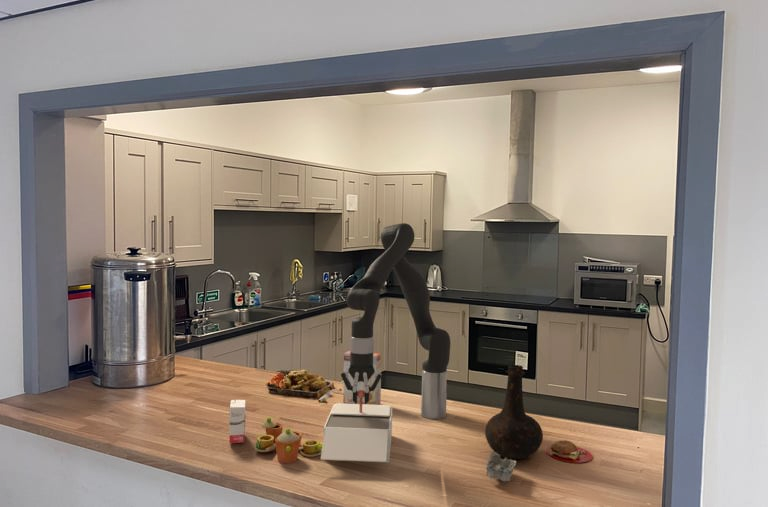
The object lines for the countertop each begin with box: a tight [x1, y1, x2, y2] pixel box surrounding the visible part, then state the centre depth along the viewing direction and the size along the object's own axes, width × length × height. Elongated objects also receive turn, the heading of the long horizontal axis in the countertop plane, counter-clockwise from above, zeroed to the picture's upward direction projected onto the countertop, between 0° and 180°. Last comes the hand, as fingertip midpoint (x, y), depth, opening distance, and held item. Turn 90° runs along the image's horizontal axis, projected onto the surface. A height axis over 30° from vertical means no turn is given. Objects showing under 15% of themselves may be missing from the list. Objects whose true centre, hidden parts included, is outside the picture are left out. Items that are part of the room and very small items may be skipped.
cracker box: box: [342, 350, 382, 405], centre depth 222 cm, size 14×6×21 cm, turn 68°
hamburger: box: [546, 439, 594, 464], centre depth 178 cm, size 14×14×6 cm
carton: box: [320, 404, 393, 464], centre depth 175 cm, size 20×31×10 cm, turn 177°
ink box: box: [229, 399, 247, 444], centre depth 184 cm, size 8×5×12 cm, turn 13°
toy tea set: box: [254, 417, 323, 464], centre depth 176 cm, size 26×16×10 cm, turn 49°
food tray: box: [262, 369, 342, 403], centre depth 240 cm, size 35×26×11 cm
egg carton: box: [485, 450, 517, 482], centre depth 160 cm, size 11×8×4 cm
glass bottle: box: [484, 364, 544, 460], centre depth 176 cm, size 18×18×28 cm
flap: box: [330, 390, 392, 417], centre depth 184 cm, size 19×10×8 cm, turn 87°
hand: (360, 402), depth 181 cm, fingers closed on flap, 2 cm apart
